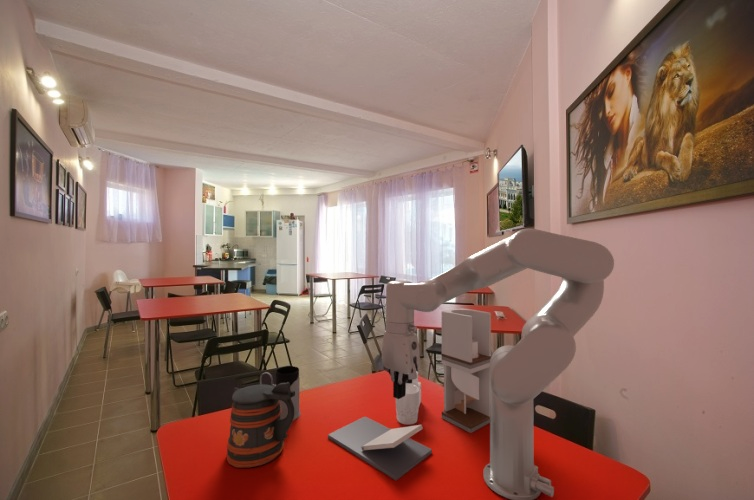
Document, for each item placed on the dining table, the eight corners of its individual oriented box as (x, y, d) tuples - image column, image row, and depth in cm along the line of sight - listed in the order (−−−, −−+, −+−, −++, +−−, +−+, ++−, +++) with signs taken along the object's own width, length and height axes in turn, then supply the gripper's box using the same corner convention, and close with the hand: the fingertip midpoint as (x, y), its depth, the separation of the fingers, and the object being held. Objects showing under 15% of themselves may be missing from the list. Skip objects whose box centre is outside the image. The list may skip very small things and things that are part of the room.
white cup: (419, 414, 110) (419, 384, 110) (419, 426, 102) (419, 394, 102) (395, 413, 110) (395, 383, 111) (394, 425, 103) (394, 393, 103)
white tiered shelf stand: (441, 418, 107) (441, 311, 108) (462, 408, 114) (461, 308, 114) (470, 433, 98) (470, 316, 99) (491, 422, 105) (490, 312, 105)
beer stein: (307, 442, 93) (307, 372, 93) (281, 476, 79) (282, 393, 79) (248, 434, 97) (249, 366, 98) (213, 464, 83) (214, 386, 83)
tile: (390, 429, 97) (391, 433, 96) (360, 446, 88) (362, 450, 88) (421, 424, 89) (423, 429, 88) (392, 443, 80) (394, 447, 80)
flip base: (431, 453, 88) (431, 449, 88) (395, 480, 77) (396, 476, 77) (364, 419, 106) (364, 416, 106) (328, 438, 95) (328, 434, 95)
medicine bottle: (397, 407, 114) (397, 373, 115) (402, 399, 121) (402, 366, 121) (417, 410, 112) (417, 375, 112) (421, 401, 119) (421, 368, 119)
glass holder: (294, 422, 104) (294, 375, 104) (253, 419, 106) (253, 372, 106) (304, 409, 113) (304, 366, 113) (266, 406, 115) (266, 364, 115)
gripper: (431, 329, 84) (431, 401, 84) (388, 321, 95) (387, 384, 94) (413, 334, 79) (413, 411, 79) (370, 325, 89) (369, 392, 89)
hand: (399, 396), depth 86 cm, fingers closed
